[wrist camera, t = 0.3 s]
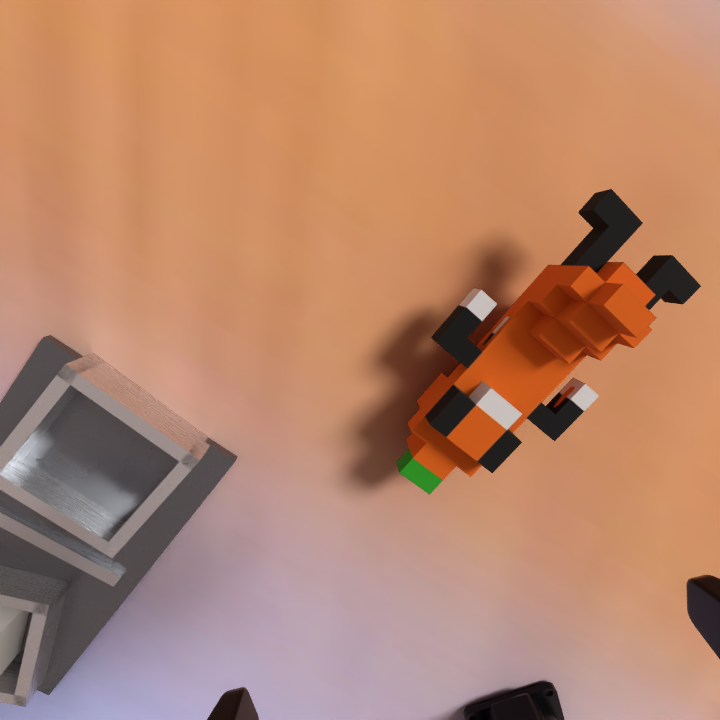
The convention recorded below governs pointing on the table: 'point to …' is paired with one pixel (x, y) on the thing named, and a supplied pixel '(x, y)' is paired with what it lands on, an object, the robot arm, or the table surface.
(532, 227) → the table surface
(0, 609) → the plug
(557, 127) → the table surface
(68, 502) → the grey square holder
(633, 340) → the toy
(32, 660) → the gray square frame
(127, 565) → the panel
